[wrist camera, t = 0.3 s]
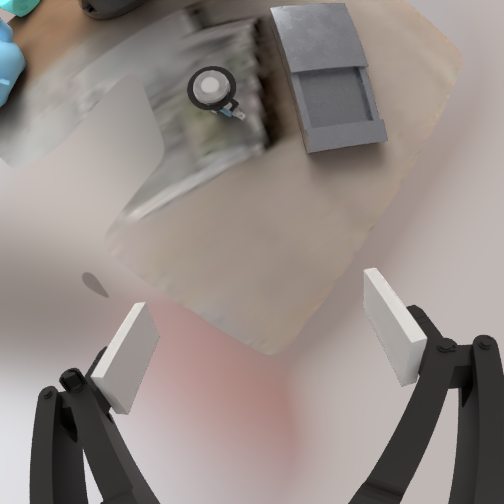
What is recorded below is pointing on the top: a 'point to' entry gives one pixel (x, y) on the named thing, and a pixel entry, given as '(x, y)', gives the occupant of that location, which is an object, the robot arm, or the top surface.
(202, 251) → the top surface
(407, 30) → the top surface
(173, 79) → the top surface
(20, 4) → the decorative dice
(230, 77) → the push button
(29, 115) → the top surface
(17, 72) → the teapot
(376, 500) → the robot arm
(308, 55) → the grey recessed block
